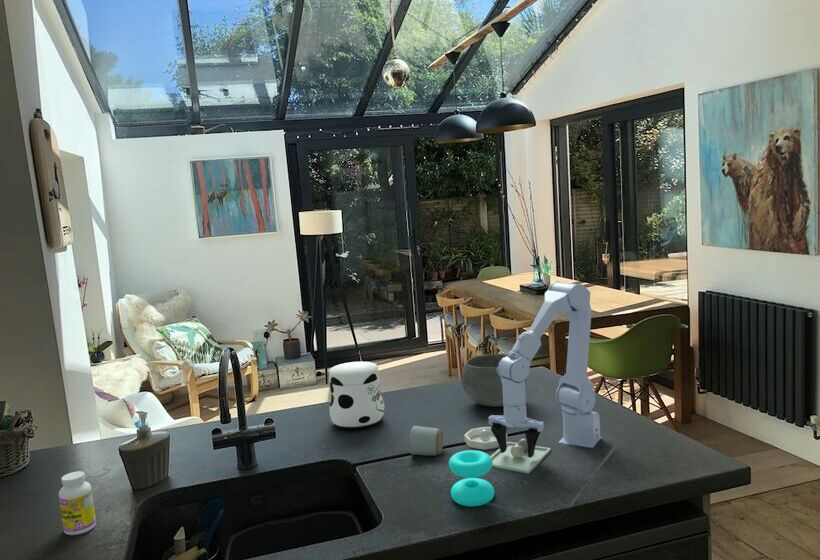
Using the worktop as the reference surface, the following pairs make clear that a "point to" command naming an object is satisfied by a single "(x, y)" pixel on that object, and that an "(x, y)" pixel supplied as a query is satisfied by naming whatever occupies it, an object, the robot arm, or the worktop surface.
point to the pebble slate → (523, 444)
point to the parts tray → (518, 459)
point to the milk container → (355, 395)
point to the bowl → (484, 379)
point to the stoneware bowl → (476, 442)
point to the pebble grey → (485, 435)
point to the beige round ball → (517, 451)
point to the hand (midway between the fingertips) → (517, 453)
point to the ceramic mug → (426, 441)
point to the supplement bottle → (76, 504)
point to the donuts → (471, 488)
